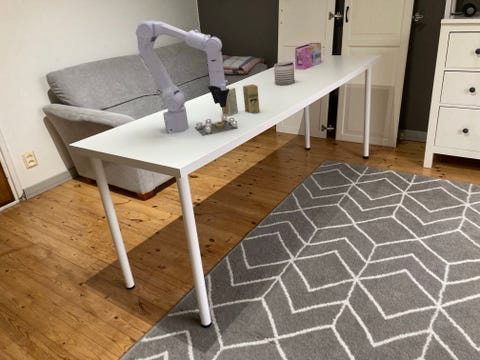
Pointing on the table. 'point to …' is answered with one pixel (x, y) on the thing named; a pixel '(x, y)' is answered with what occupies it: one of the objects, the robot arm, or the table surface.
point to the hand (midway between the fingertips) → (220, 105)
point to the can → (284, 73)
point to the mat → (215, 129)
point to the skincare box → (230, 103)
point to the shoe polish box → (251, 99)
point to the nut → (220, 125)
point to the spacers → (209, 124)
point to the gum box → (307, 55)
